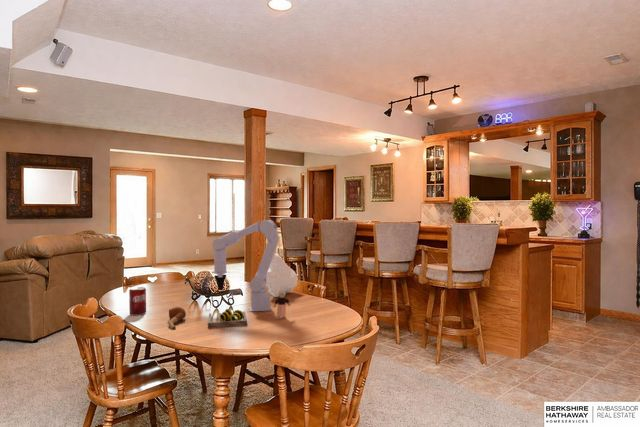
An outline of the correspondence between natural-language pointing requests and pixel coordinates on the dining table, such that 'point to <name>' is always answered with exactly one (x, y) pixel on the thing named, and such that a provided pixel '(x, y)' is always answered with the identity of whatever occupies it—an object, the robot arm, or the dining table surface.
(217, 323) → the bar
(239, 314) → the opera glasses
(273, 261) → the white rounded lump
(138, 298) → the soda can
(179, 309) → the smoking pipe
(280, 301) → the grandmother figurine
